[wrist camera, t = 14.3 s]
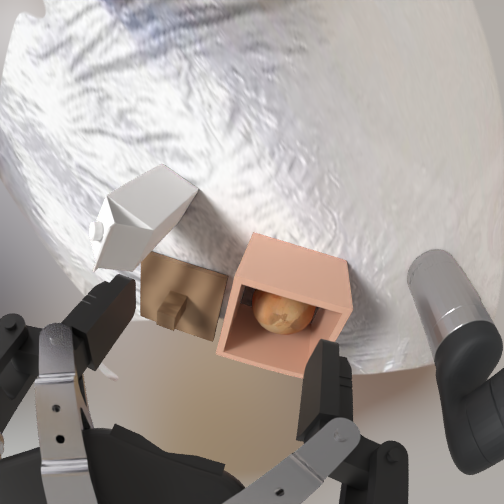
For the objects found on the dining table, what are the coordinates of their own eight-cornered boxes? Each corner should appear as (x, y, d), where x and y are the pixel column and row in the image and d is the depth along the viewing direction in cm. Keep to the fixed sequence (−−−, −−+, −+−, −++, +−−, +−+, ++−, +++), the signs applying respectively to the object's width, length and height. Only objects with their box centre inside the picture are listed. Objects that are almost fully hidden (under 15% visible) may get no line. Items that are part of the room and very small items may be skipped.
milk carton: (199, 188, 46) (136, 247, 29) (178, 222, 49) (116, 290, 33) (162, 162, 44) (84, 207, 28) (144, 198, 48) (70, 254, 32)
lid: (228, 275, 51) (216, 301, 45) (214, 338, 59) (203, 364, 53) (144, 248, 52) (124, 269, 46) (142, 312, 60) (127, 335, 54)
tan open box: (346, 260, 47) (353, 309, 36) (314, 328, 54) (311, 380, 44) (253, 232, 47) (235, 275, 37) (234, 305, 55) (215, 354, 45)
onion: (256, 304, 54) (244, 344, 45) (259, 254, 49) (246, 292, 40) (311, 312, 53) (308, 354, 44) (320, 262, 48) (320, 302, 39)
